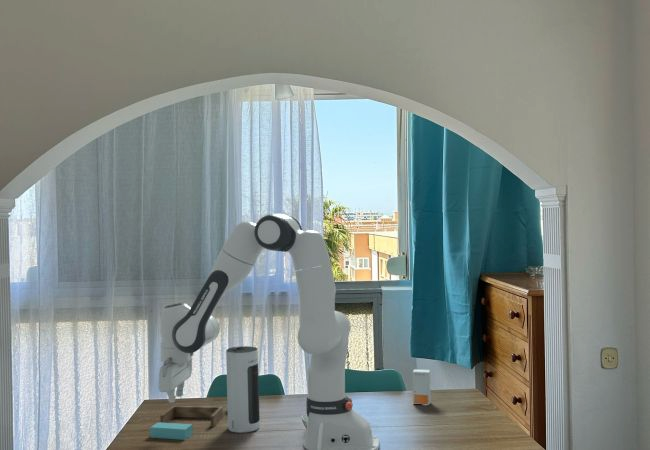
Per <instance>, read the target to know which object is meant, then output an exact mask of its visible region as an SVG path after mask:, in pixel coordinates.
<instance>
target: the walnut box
mask: <svg viewBox="0 0 650 450" xmlns="http://www.w3.org/2000/svg"><path fill="white" fill-rule="evenodd" d="M174 418H203V419H204V418H210V427H211V428H214V427H216V426H217V425H218V423H219V422H220V421H221V420H222V419H223V418H224V406H208V405H207V406H206V405H205V406H198V405H197V406H196V405H195V406H194V405H190V406H187V405H172V406H170V407H169V408H168V409H167V410H166V411H164V412H163V413H162V414H160V422H161V423H170V422H171V420H173V419H174Z"/></svg>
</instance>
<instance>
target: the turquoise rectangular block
mask: <svg viewBox="0 0 650 450" xmlns="http://www.w3.org/2000/svg"><path fill="white" fill-rule="evenodd" d="M149 429H150V430H149V432H150V434H149V435H150V438H153V439H155V438H156V439H167V440H169V439H170V440H171V439H172V440H181V441H182V440H184V441H186V440H188V439H189V438H190V437H191V436H193V435H194V432H193V431H194V430H193V429H194V426H193V424H191V423H177V422H176V423H175V422H168V423H161V421H160V422H155V424H153V425H152V426H150V427H149Z"/></svg>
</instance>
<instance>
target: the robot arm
mask: <svg viewBox="0 0 650 450" xmlns="http://www.w3.org/2000/svg"><path fill="white" fill-rule="evenodd" d="M326 244H327V243H326V242H325V240H324V236H323V235H322V234H321V233H320V232H319V231H315V230H303V227H302V225H301V223H300V222H299V221H298V220H297V219H296V218H294V216H293V217H292V216H291V215H286V214H284V213H269V214H267V215H264V216H262V217H261V218H259V219H258V221H257V223H254V222H253V221H252V222H251V221H241V222H239V223H237V225H236V226H235V227H234V228H233V230H232V231H231V233H230V234H229V235H228V236H227V239H226V241H225V242H224V244H223V246H222V248H221V250H220V252H219V254H218V256H217V258H216V260H215V262H214V265H213V267H212V269H211V271H210V273H209V275H208V277H207V279H206V281H205V283H204V284H203V286H202V288H201V289H200V290H199V293H198V294H197V297H196V298H195V300H194V301H193V303H192V305H191V306H190V305H188V304H187V303H186V302H178V303H173V304H169V305H166V306H165V307H163V308H162V311H161V315H160V329H159V330H160V336H161V343H160V363H161V362H162V363H163V364H162V365H161V366H160V368H159V372H158V391H159V392H160V393H166V394H167V397H168V398H167V399H168V403H169V404H171V403H175V402H176V399H177V398H180V397H182V396H183V395H184V387H185V381H187V380H188V379H190V378H191V376H192V372H193V356H194V353H195V352H198V351H199V350H200V349H201V348H202V347H205V346H206V345H208V344H211V343H212V342H213V341H215V340H216V339H217V338H218V336H219V333H220V324H219V322H218V320H217V318H216V317H215V316H214V315H213V313H214V311H215V310H216V308H217V306H218V305H219V302H221V300H222V298H223V297H224V296H225V295H226V294H228V293H229V292H230V291H232V290H233V289H234V288H236V287H238V286H239V285H241V284H242V283H243V282H244V281H245V280H246V279H247V277H248V276H249V275H250V273H251V271H252V270H253V268H254V266H255V264H256V263H257V260H258V258H259V256H260V254H261V253H262V252H263V251H265V250H269V251H271V252H273V251H274V252H281V253H282V252H283V253H288V254H289V255H290V257H291V258H292V263H293V268H294V274H295V280H296V285H297V291H298V296H299V328H298V332H297V342H298V345H299V347H300V348H301V350H302V351H304V352H305V353H307V354H309V355H311V357H310V362H309V365H308V367H307V397H306V402H305V403H306V404H305V407H306V408H305V410H306V411H305V412H306V416H307V422H306V423H307V424H306V429H305V430H306V431H305V438H304V440H303V444H302V446H303V448H305V449H306V450H379V448H380V446H381V445H380V439H379V438H378V436H376V435H375V434H373V433H372V428H371V425H370V422H369V421H368V419H366V418H365V417H364V416H362V415H361V414H359V413H358V412H357V411H356V410H354V409H353V406H354V405H353V400H352V397H351V396H350V397H348V396H346V376H345V375H346V374H345V373H346V364H347V363H346V361H347V356H348V347H349V336H350V333H351V322H350V319H349V318H348V316H347V315H345V314H344V313H343V312H341V311H337V310H336V304H335V303H336V294H337V288H336V284H335V283H336V282H335V277H334V272H333V267H332V262H331V257H330V253H329V250H328V247H327V245H326ZM175 389H176V390H175Z"/></svg>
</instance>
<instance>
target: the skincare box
mask: <svg viewBox="0 0 650 450" xmlns="http://www.w3.org/2000/svg"><path fill="white" fill-rule="evenodd" d="M431 384H432V383H431V370H430V369H416V368H414V369H413V371H412V404H413V403H415V404H416V403H417V404H430V405H431V403H430V402H432V400H431V399H432V397H431V394H432V393H431V391H432V390H431Z"/></svg>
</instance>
